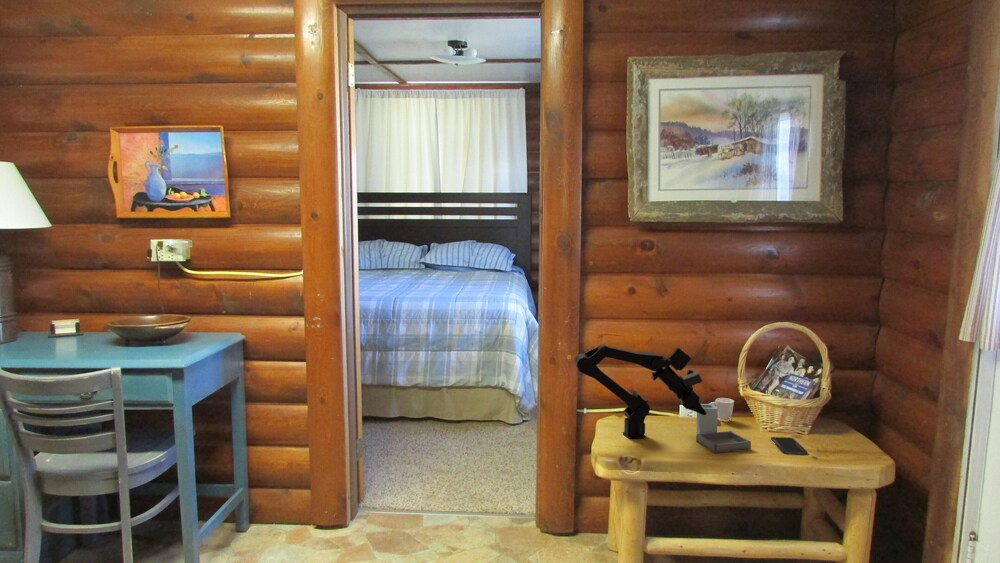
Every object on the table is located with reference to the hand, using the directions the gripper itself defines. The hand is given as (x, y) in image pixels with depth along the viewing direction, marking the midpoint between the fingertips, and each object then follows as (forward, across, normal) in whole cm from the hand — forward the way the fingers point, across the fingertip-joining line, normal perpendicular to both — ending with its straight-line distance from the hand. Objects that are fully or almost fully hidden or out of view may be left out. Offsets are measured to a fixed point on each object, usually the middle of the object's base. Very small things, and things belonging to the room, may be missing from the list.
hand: (703, 410), depth 233 cm
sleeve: (+8, 0, +6) cm, 10 cm away
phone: (+26, -9, -12) cm, 30 cm away
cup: (+14, +19, 0) cm, 24 cm away
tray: (+10, -10, +3) cm, 15 cm away
